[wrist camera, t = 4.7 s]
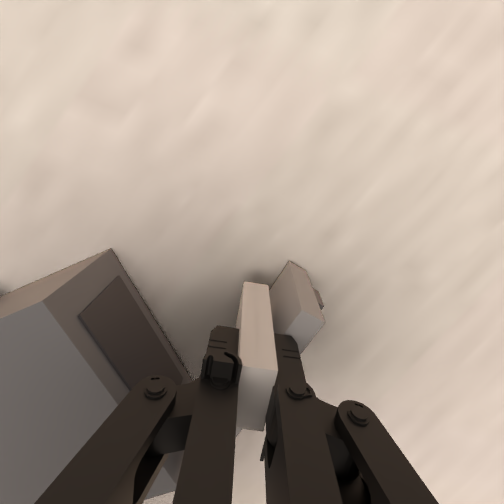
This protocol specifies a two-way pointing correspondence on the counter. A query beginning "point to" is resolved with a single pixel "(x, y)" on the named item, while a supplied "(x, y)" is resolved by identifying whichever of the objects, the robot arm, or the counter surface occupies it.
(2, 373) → the housing
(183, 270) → the counter surface
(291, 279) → the door
